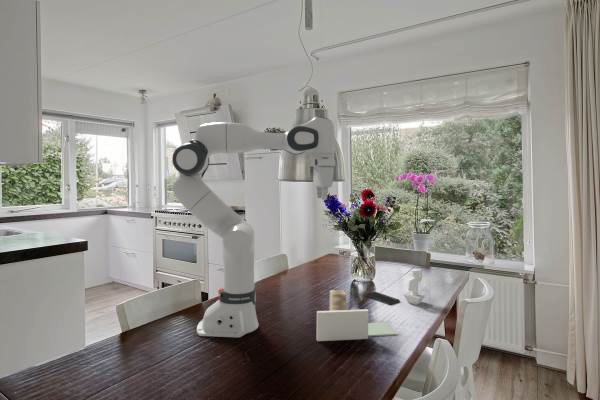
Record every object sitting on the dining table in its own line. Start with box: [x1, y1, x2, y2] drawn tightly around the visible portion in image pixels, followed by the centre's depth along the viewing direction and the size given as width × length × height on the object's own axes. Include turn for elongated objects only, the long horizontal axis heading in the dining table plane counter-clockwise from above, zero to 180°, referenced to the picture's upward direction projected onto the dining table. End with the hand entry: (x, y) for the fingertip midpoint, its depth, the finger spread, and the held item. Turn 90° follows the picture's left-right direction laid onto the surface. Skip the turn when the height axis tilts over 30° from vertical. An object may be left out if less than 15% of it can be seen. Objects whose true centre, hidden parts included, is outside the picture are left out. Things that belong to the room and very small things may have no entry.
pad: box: [368, 322, 397, 337], centre depth 133 cm, size 10×10×1 cm
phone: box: [364, 291, 401, 306], centre depth 166 cm, size 8×1×15 cm
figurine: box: [403, 268, 427, 306], centre depth 161 cm, size 7×9×15 cm
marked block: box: [328, 289, 347, 311], centre depth 132 cm, size 5×5×14 cm
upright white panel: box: [315, 308, 370, 342], centre depth 125 cm, size 18×2×10 cm, turn 97°
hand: (321, 198), depth 135 cm, fingers open, 8 cm apart
